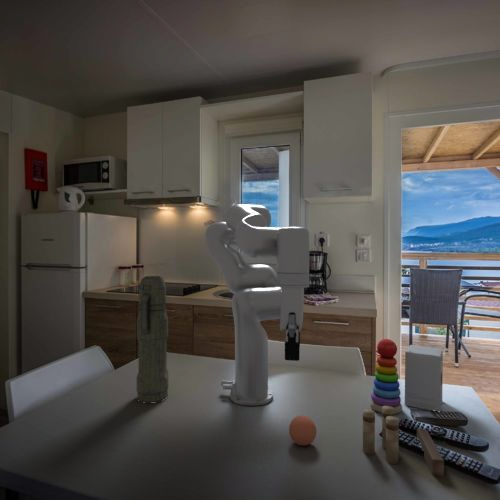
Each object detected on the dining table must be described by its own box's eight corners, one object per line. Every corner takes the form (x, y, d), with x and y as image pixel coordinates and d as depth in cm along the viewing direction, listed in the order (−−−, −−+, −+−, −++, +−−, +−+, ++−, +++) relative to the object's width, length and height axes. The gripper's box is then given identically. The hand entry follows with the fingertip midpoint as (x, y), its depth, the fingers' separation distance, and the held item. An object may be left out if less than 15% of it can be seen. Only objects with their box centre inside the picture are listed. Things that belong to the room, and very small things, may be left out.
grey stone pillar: (130, 406, 99) (130, 278, 99) (143, 389, 111) (143, 275, 110) (162, 406, 99) (162, 278, 98) (172, 389, 110) (172, 275, 110)
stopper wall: (432, 474, 69) (432, 459, 69) (416, 441, 81) (416, 428, 81) (443, 476, 69) (443, 460, 69) (426, 442, 81) (426, 429, 81)
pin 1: (382, 449, 78) (382, 410, 78) (381, 443, 80) (381, 405, 80) (395, 450, 77) (395, 411, 77) (392, 444, 80) (393, 406, 80)
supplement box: (440, 413, 95) (441, 356, 95) (404, 405, 100) (404, 351, 100) (443, 401, 103) (443, 348, 102) (409, 394, 107) (409, 343, 107)
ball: (287, 449, 78) (287, 421, 78) (290, 435, 84) (290, 409, 84) (316, 452, 77) (316, 424, 77) (316, 438, 82) (316, 412, 82)
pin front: (363, 453, 76) (363, 413, 76) (361, 447, 79) (362, 408, 79) (375, 455, 76) (375, 414, 76) (374, 448, 78) (374, 409, 78)
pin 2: (386, 463, 73) (386, 421, 73) (384, 456, 75) (384, 415, 75) (399, 464, 73) (400, 422, 72) (397, 457, 75) (397, 416, 75)
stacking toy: (405, 417, 93) (405, 344, 93) (372, 414, 94) (372, 342, 94) (398, 404, 101) (399, 336, 100) (368, 401, 102) (369, 335, 102)
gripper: (279, 276, 93) (278, 343, 93) (273, 283, 76) (273, 364, 76) (308, 277, 92) (308, 344, 92) (309, 284, 75) (309, 366, 75)
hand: (292, 353), depth 84 cm, fingers open, 9 cm apart
